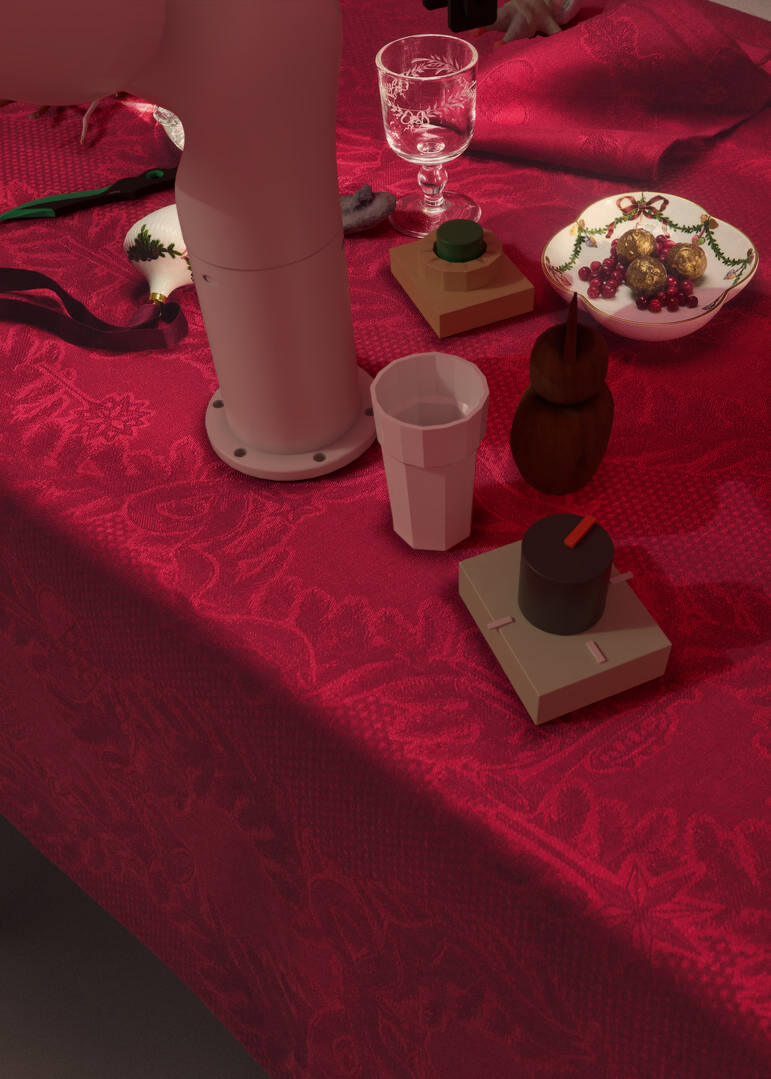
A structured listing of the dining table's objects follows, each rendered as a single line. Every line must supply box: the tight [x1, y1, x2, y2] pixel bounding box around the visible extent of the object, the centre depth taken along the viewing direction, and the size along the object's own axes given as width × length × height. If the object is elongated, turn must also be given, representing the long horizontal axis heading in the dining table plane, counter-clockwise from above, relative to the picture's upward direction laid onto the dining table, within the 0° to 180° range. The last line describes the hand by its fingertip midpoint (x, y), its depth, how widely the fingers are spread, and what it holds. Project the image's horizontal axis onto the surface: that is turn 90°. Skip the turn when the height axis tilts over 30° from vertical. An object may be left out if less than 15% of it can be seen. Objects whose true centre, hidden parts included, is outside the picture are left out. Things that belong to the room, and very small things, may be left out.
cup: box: [370, 351, 490, 552], centre depth 60 cm, size 7×7×11 cm
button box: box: [389, 227, 536, 339], centre depth 79 cm, size 10×8×4 cm
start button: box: [436, 218, 484, 263], centre depth 77 cm, size 4×4×2 cm
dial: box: [518, 513, 615, 635], centre depth 54 cm, size 5×5×5 cm
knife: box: [0, 164, 179, 222], centre depth 94 cm, size 23×1×5 cm
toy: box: [468, 0, 583, 51], centre depth 109 cm, size 11×5×15 cm
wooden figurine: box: [509, 291, 615, 496], centre depth 60 cm, size 7×6×15 cm
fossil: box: [340, 184, 398, 235], centre depth 86 cm, size 8×4×5 cm
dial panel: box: [458, 539, 673, 726], centre depth 57 cm, size 10×9×3 cm
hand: (459, 13), depth 64 cm, fingers open, 3 cm apart
